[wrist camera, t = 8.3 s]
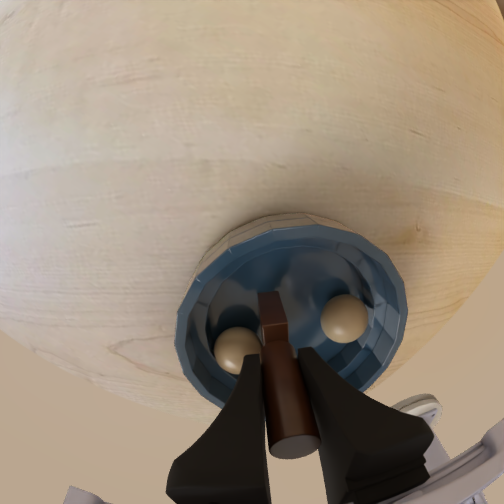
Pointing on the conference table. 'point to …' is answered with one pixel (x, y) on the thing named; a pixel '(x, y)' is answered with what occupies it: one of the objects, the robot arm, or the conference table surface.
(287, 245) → the bowl
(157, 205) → the conference table surface
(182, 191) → the conference table surface
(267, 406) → the stir paddle
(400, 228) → the conference table surface
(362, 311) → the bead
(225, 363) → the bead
